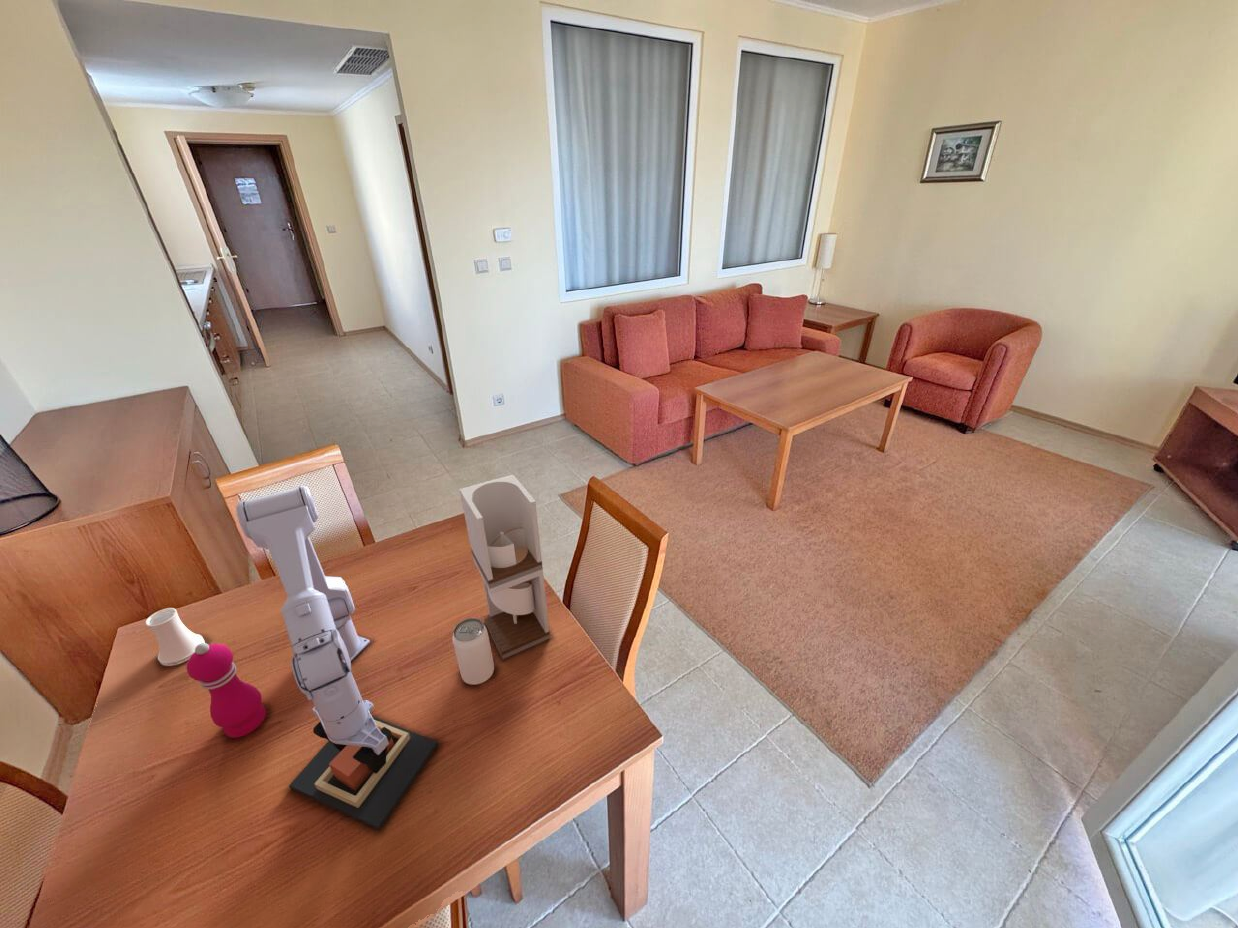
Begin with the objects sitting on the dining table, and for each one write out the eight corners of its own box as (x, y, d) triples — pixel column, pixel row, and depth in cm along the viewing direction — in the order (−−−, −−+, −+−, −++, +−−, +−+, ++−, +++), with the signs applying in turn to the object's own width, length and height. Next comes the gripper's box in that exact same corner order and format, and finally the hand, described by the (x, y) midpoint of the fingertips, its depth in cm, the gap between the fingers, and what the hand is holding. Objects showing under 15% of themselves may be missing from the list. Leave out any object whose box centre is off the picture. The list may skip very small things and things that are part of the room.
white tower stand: (485, 623, 110) (459, 489, 93) (530, 604, 115) (513, 474, 98) (502, 659, 101) (477, 518, 85) (550, 638, 106) (535, 501, 89)
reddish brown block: (335, 778, 80) (328, 763, 78) (376, 735, 86) (370, 721, 84) (355, 791, 78) (348, 776, 76) (395, 746, 85) (389, 732, 83)
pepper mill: (278, 710, 92) (237, 633, 82) (241, 746, 86) (192, 668, 76) (250, 698, 94) (206, 623, 84) (212, 733, 88) (160, 656, 78)
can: (486, 688, 95) (476, 645, 90) (455, 683, 97) (444, 639, 91) (499, 661, 101) (491, 618, 95) (470, 656, 102) (460, 613, 96)
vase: (160, 672, 100) (136, 637, 95) (159, 649, 105) (136, 615, 100) (206, 652, 104) (186, 617, 99) (203, 631, 109) (183, 597, 104)
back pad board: (290, 788, 80) (285, 780, 79) (357, 713, 91) (353, 704, 90) (379, 830, 74) (375, 822, 73) (438, 744, 86) (436, 735, 85)
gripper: (395, 701, 75) (414, 754, 82) (331, 666, 81) (353, 718, 88) (355, 741, 70) (379, 795, 76) (290, 701, 75) (317, 754, 82)
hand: (363, 756), depth 82 cm, fingers open, 7 cm apart
